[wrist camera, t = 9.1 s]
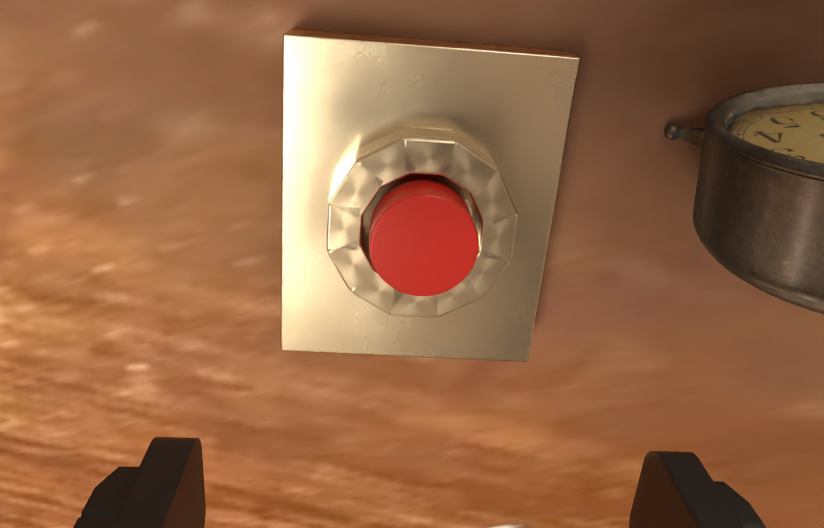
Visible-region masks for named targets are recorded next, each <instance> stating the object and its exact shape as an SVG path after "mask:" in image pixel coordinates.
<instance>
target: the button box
mask: <svg viewBox="0 0 824 528" xmlns="http://www.w3.org/2000/svg"><path fill="white" fill-rule="evenodd" d="M579 62H580V58H579V57H576V56H574V55H572V54H570V53H567V52H565V51H561V50H548V49H536V48H524V47H511V46H499V45H487V44H474V43H462V42H450V41H438V40H425V39H413V38H401V37H388V36H376V35H364V34H352V33H339V32H327V31H315V30H302V29H290V30H289V31H287V32H286V33H285V34H283V101H282V244H281V350H282V351H304V352H326V353H348V354H370V355H392V356H413V357H435V358H457V359H479V360H501V361H523V362H527V361H528V359H529V353H530V347H531V341H532V336H533V330H534V324H535V318H536V312H537V307H538V301H539V295H540V289H541V283H542V277H543V272H544V266H545V260H546V254H547V248H548V242H549V237H550V231H551V225H552V219H553V213H554V208H555V202H556V196H557V190H558V184H559V178H560V173H561V167H562V161H563V155H564V149H565V143H566V138H567V132H568V126H569V120H570V114H571V109H572V103H573V97H574V91H575V85H576V79H577V74H578V68H579ZM415 180H429V181H435V182H439V183H441V184H444V185H446V186H448V187H450V188H451V189H453V190H454V191H455V192H457V193H458V194H459V195H460V196H461V197H462V199H463V200H464V201H465V203H466V204H467V206H468V208H469V211H470V213H471V216H472V218H473V221H474V223H475V226H476V229H477V232H478V237H479V251H478V256H477V259H476V262H475V264H474V266H473V268H472V270H471V271H470V273H469V274H468V275H467V276H466V278H465V279H464V280H463V281H461V282H460V283H459V284H458V285H457V286H455V287H454V288H452V289H450V290H448V291H446V292H443V293H441V294H437V295H433V296H413V295H408V294H405V293H402V292H400V291H398V290H396V289H394V288H392V287H391V286H389V285H388V284H387V283H386V282H385V281H383V280H382V278H381V277H380V276H379V275H378V273H377V272H376V270H375V268H374V266H373V264H372V261H371V258H370V252H369V229H370V220H371V216H372V213H373V211H374V209H375V207H376V205H377V204H378V202H379V201H380V200H381V198H382V197H383V196H384V195H385V194H386V193H387V192H389V191H390V190H391V189H393V188H395V187H396V186H398V185H401V184H403V183H406V182H410V181H415Z"/></svg>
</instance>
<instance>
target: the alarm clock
mask: <svg viewBox="0 0 824 528" xmlns="http://www.w3.org/2000/svg"><path fill="white" fill-rule="evenodd" d="M704 124H705V128H685V127H681V126H680V125H679V124H677V123H675V122H672V123H669V124H668V125H667V126H666V127H665V128H664V133H665V135H666V137H667V138H669V139H671V140H675V139H678V138H680V139H683V140H686V141H688V142H691V143H693V144H696V145H699V146H703V147H702V154H701V161H700V168H699V175H698V182H697V189H696V195H695V203H694V211H693V221H694V226H695V229H696V232H697V234H698V236H699V238H700V240H701V242H702V243H703V245H704V246H705V248H706V249H707V250H708V252H709V253H710V254H711V255H712V256H713V257H714V258H715V259H716V260H717V261H718V262H719V263H720V264H721V265H723V266H724V267H725V268H726V269H727V270H729V271H730V272H731V273H733V274H734V275H736V276H737V277H739V278H740V279H742V280H744V281H746V282H747V283H749V284H751V285H753V286H754V287H756V288H758V289H760V290H762V291H764V292H766V293H768V294H770V295H772V296H775V297H777V298H779V299H781V300H784V301H786V302H789V303H792V304H794V305H797V306H800V307H803V308H806V309H808V310H811V311H815V312H818V313H822V314H824V82H818V83H804V84H791V85H783V86H773V87H767V88H762V89H757V90H753V91H749V92H745V93H741V94H738V95H736V96H732V97H730V98H728V99H726V100H723V101H721V102H719V103H718V104H717V105H715V106H714V107H713V108H712V109H711V110H709V112H708V113H707V115H706V117H705V119H704Z"/></svg>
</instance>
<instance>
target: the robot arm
mask: <svg viewBox="0 0 824 528" xmlns="http://www.w3.org/2000/svg"><path fill="white" fill-rule="evenodd" d="M205 510H206V507H205V490H204V475H203V460H202V447H201V442H200V439H199V438H175V437H155V438H154V439H153V440H152V442H151V443H150V445H149V448H148V450H147V452H146V454H145V456H144V458H143V460H142V462H141V464H140V466H139V467H118V468H117V469H116V470H115V471H114V472H113V473H111V474H110V475H109V476H108V477H107V478H106V479H104V480H103V481H102V482H101V483H100V484H99V485H98V486H96V487H95V489H94V491H93V492H92V494H91V496H90V498H89V500H88V502H87V503H86V505H85V507H84V509H83V511H82V514H81V518H78V520H77V522H76V524H75V526H74V527H73V528H204V525H205ZM765 527H766V526H765V525H764V524H763V522H762V521H761V519H760V518H759V516H758V515H757V514H756V512H755V511H754V509H753V508H752V506H751V505H750V503H749V502H748V501H746V500H745V499H744V498H743V497H741V496H740V495H739V494H738V493H737V492H735V491H734V490H733V489H732V488H731V487H729V486H728V485H727V484H726V483H724V482H713V480H712V479H711V477H710V476H709V474H708V473H707V471H706V469H705V468H704V466H703V465H702V463H701V462H700V460H699V459H698V457H697V456H696V455H695V454H694V453H692V452H670V451H650V452H648V453H647V455H646V457H645V459H644V462H643V466H642V470H641V474H640V478H639V482H638V486H637V490H636V494H635V498H634V502H633V506H632V510H631V514H630V522H629V528H765Z"/></svg>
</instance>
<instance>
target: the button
mask: <svg viewBox="0 0 824 528" xmlns="http://www.w3.org/2000/svg"><path fill="white" fill-rule="evenodd" d="M478 251H479V237H478V232H477V229H476V226H475V223H474V221H473V218H472V216H471V213H470V211H469V208H468V206H467V204H466V203H465V201H464V200H463V199H462V197H461V196H460V195H459V194H458V193H457V192H455V191H454V190H453V189H451V188H450V187H448V186H446V185H444V184H441V183H439V182H435V181H429V180H415V181H410V182H406V183H403V184H401V185H398V186H396V187H395V188H393V189H391V190H390V191H389V192H387V193H386V194H385V195H384V196H383V197H382V198H381V200H380V201H379V202H378V204H377V205H376V207H375V209H374V211H373V213H372V216H371V220H370V229H369V252H370V258H371V261H372V264H373V266H374V268H375V270H376V272H377V273H378V275H379V276H380V277H381V278H382V280H383V281H385V282H386V283H387V284H388V285H389V286H391V287H392V288H394V289H396V290H398V291H400V292H402V293H405V294H408V295H413V296H433V295H437V294H441V293H443V292H446V291H448V290H450V289H452V288H454V287H455V286H457V285H458V284H459V283H460V282H461V281H463V280H464V279H465V278H466V276H467V275H468V274H469V273H470V271H471V270H472V268H473V266H474V264H475V262H476V259H477V256H478Z"/></svg>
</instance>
